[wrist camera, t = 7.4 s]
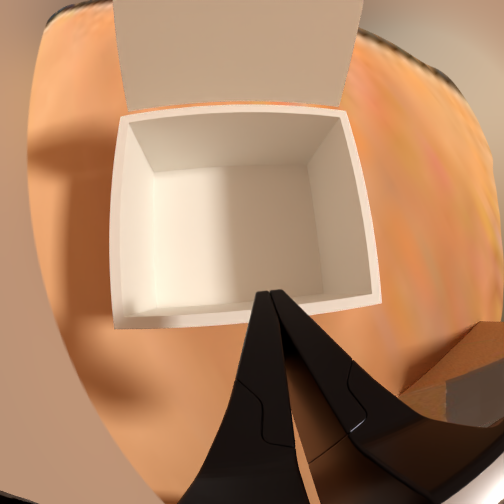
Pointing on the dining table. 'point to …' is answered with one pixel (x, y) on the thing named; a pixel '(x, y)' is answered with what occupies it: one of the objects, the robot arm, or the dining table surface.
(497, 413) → the sandwich container
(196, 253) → the carton
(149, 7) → the carton flap
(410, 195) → the dining table surface
